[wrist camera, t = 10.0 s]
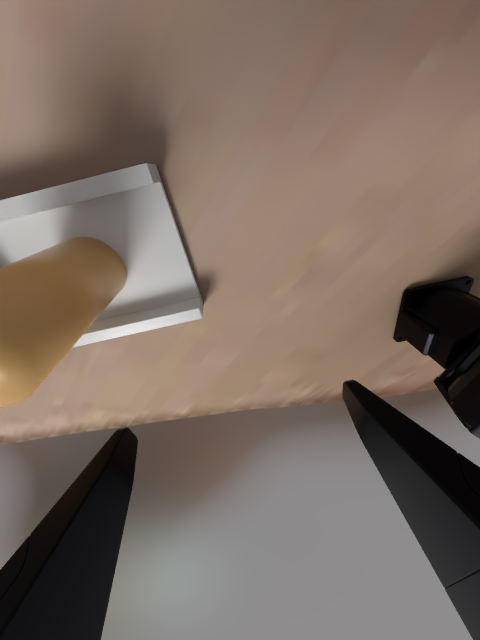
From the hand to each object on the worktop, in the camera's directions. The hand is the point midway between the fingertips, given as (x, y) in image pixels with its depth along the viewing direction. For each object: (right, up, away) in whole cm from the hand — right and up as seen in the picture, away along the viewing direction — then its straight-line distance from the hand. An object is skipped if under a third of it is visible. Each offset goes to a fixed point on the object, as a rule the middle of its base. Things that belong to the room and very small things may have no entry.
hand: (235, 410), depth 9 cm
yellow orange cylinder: (-12, +8, +9) cm, 16 cm away
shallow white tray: (-12, +8, +9) cm, 17 cm away
